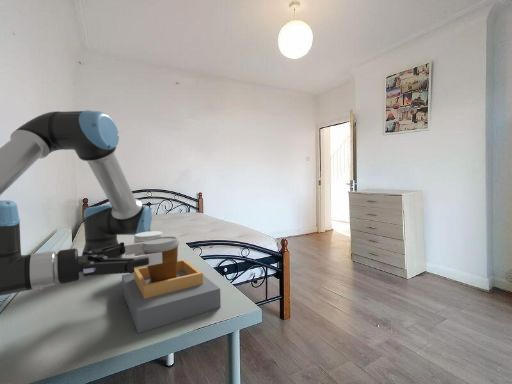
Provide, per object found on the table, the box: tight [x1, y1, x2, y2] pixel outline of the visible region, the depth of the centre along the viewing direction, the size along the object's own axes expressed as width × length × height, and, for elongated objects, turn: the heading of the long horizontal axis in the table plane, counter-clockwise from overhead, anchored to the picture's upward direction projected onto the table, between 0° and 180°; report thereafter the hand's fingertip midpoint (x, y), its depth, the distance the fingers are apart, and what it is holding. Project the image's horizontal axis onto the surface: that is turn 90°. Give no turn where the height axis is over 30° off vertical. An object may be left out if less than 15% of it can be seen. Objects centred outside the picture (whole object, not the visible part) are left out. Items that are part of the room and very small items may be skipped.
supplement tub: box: [133, 230, 164, 268], centre depth 92 cm, size 10×10×15 cm
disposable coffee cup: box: [142, 235, 180, 283], centre depth 70 cm, size 10×10×12 cm
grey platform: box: [121, 258, 222, 334], centre depth 75 cm, size 30×20×8 cm, turn 34°
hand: (155, 251), depth 71 cm, fingers open, 13 cm apart
